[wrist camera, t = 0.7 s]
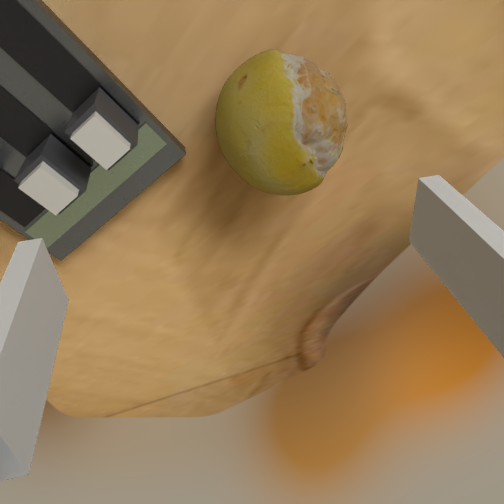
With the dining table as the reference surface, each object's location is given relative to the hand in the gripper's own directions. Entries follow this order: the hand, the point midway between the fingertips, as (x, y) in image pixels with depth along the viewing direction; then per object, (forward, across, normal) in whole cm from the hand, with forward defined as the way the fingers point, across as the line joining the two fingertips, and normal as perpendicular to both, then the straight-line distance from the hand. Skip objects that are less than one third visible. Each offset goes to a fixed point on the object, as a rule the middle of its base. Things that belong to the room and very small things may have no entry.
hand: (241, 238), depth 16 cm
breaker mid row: (+23, -12, -6) cm, 27 cm away
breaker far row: (+23, -7, -3) cm, 25 cm away
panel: (+25, -14, -3) cm, 29 cm away
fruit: (+26, +6, -4) cm, 27 cm away
